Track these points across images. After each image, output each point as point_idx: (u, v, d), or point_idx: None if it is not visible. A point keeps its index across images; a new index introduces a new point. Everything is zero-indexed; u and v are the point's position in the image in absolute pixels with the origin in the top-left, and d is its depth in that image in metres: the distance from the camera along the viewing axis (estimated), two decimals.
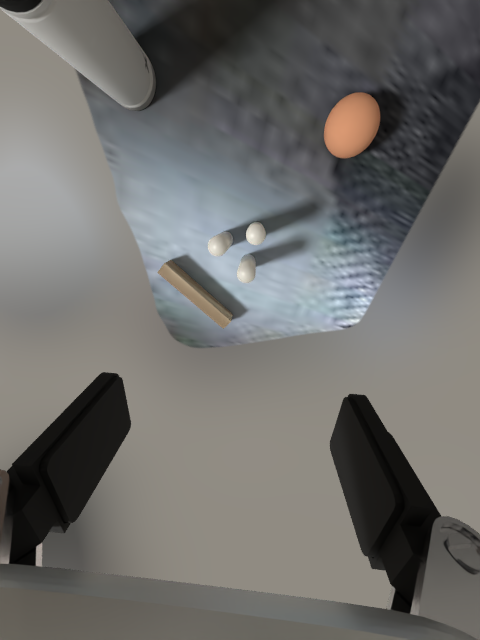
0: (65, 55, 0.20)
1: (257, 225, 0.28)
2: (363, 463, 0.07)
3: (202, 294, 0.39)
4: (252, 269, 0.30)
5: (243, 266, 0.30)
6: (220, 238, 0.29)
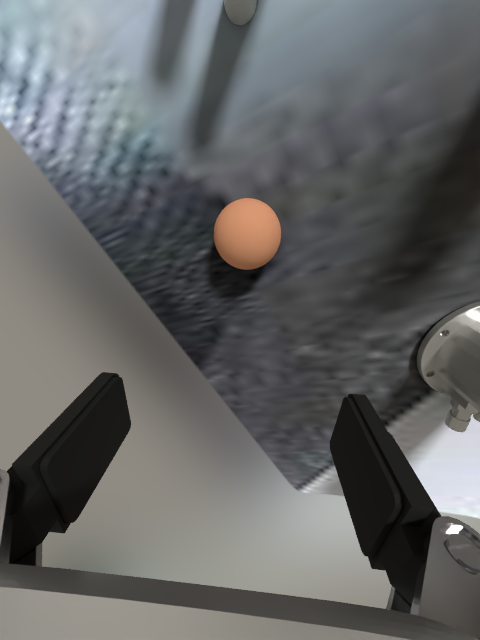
0: None
1: None
2: (363, 463, 0.07)
3: None
4: None
5: None
6: None
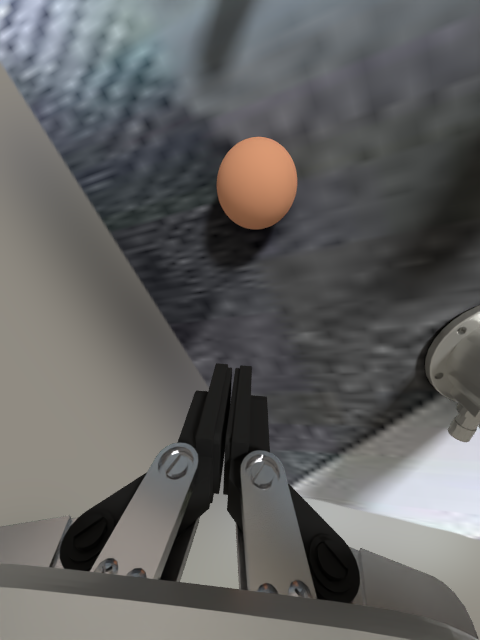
0: None
1: None
2: None
3: None
4: None
5: None
6: None
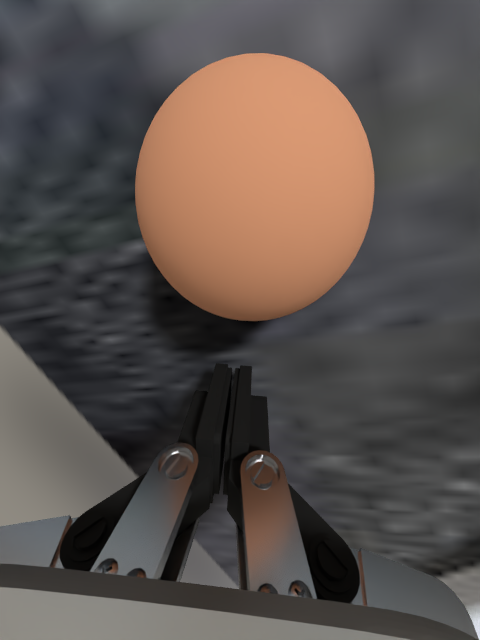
0: None
1: None
2: None
3: None
4: None
5: None
6: None
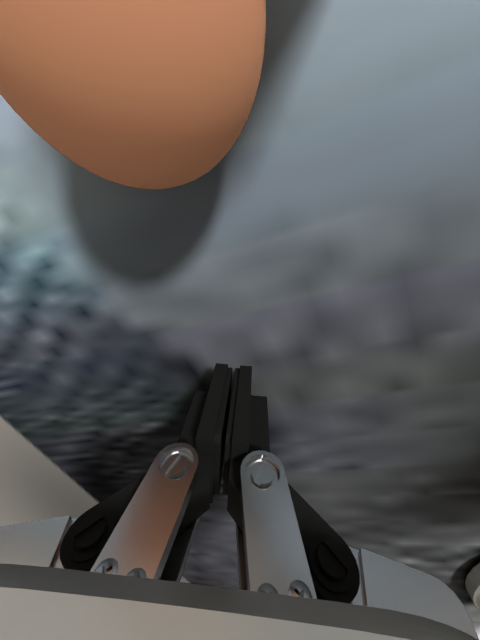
0: None
1: None
2: None
3: None
4: None
5: None
6: None
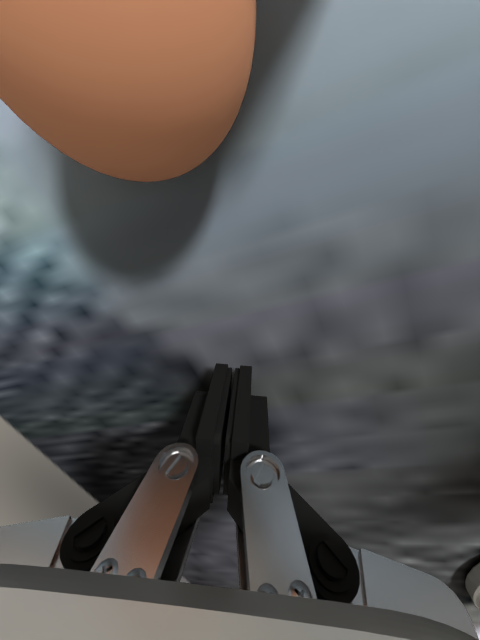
0: None
1: None
2: None
3: None
4: None
5: None
6: None
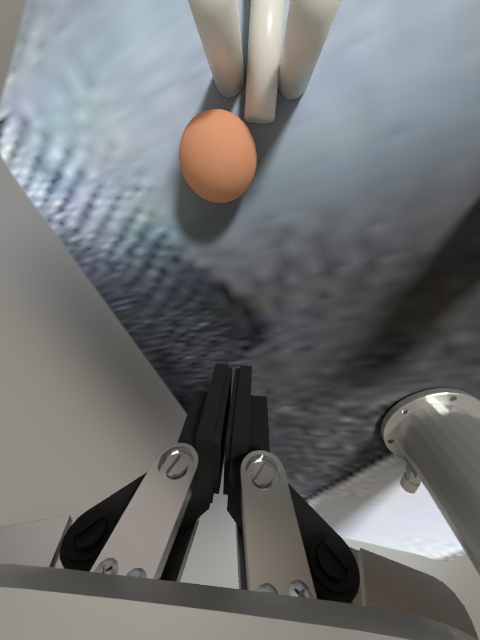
0: None
1: None
2: None
3: None
4: (206, 11, 0.11)
5: None
6: (322, 14, 0.11)
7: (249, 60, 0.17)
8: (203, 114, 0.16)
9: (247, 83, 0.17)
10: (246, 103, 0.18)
